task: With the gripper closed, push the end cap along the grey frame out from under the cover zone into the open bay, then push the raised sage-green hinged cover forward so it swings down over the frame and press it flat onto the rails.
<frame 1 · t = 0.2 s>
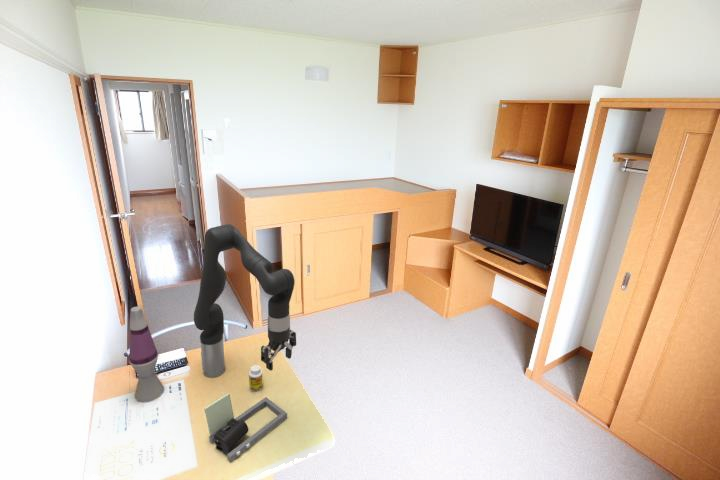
hand: (279, 363, 135), 29 cm above the table, fingers open, 8 cm apart
grey frame: (248, 430, 141), on the table
lamp: (149, 392, 156), on the table
supplement bottle: (256, 387, 162), on the table
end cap: (232, 443, 136), on the table
lid: (219, 414, 137), point 8 cm above the table, hinge at 100.0°
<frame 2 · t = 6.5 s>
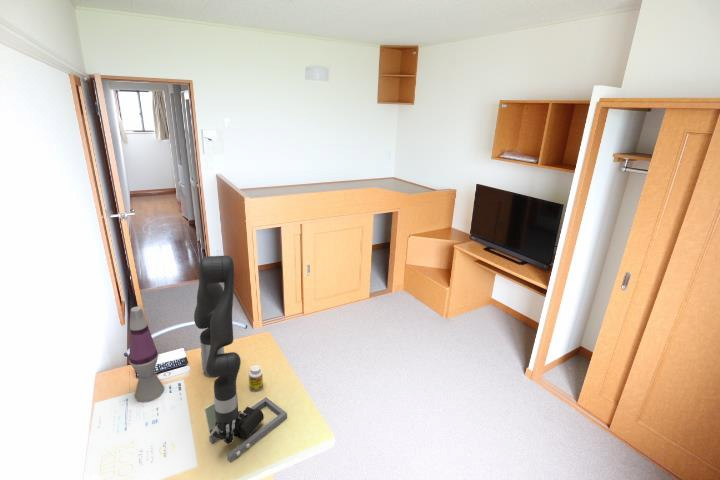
hand: (228, 442, 135), 1 cm above the table, fingers closed
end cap: (248, 430, 142), on the table, touching hand
everything else where it was.
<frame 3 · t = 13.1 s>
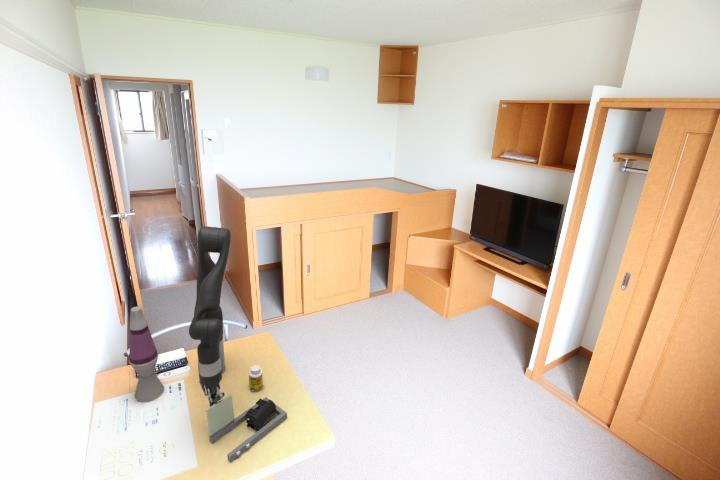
hand: (213, 407, 138), 10 cm above the table, fingers closed
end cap: (261, 421, 146), on the table
lid: (220, 415, 137), point 9 cm above the table, hinge at 94.6°
everything else where it was.
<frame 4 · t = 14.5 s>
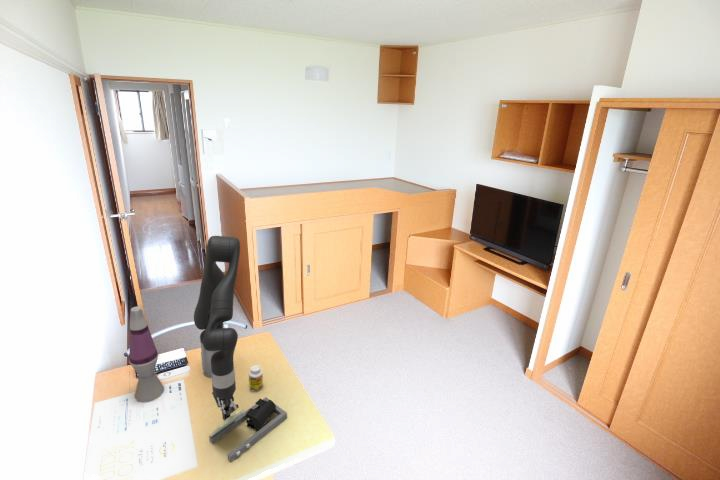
hand: (226, 418, 134), 10 cm above the table, fingers closed
lid: (226, 422, 135), point 8 cm above the table, hinge at 54.1°, touching gripper
everything else where it was.
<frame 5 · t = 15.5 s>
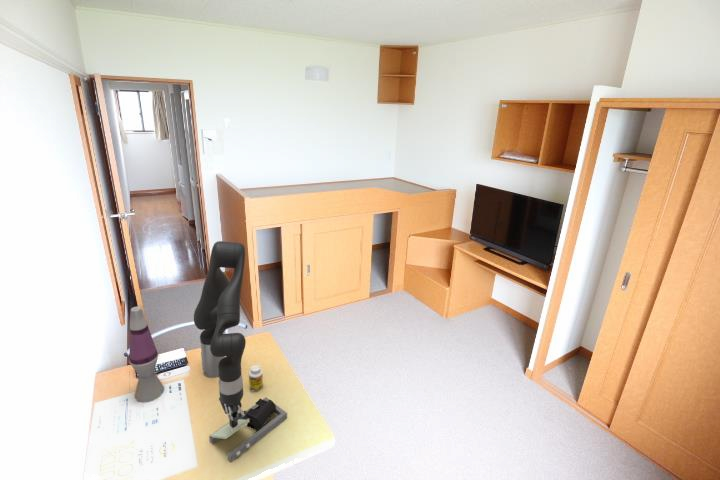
hand: (233, 425, 132), 10 cm above the table, fingers closed
lid: (229, 427, 134), point 6 cm above the table, hinge at 33.6°, touching gripper
everything else where it was.
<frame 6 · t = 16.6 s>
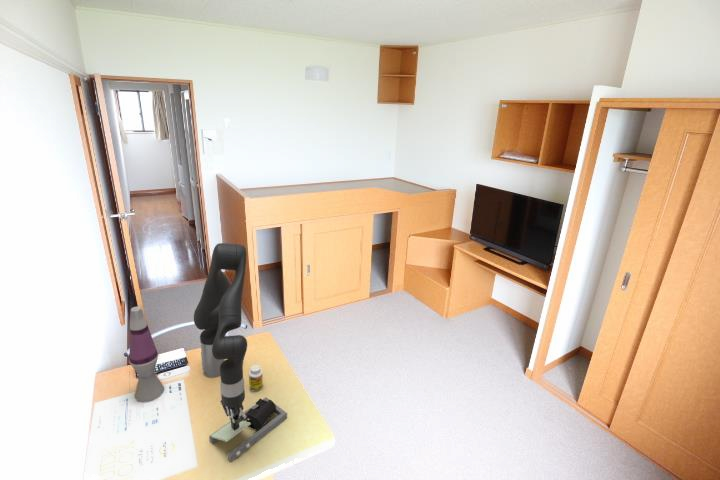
hand: (235, 427, 131), 9 cm above the table, fingers closed
lid: (229, 429, 134), point 6 cm above the table, hinge at 28.5°, touching gripper
everything else where it was.
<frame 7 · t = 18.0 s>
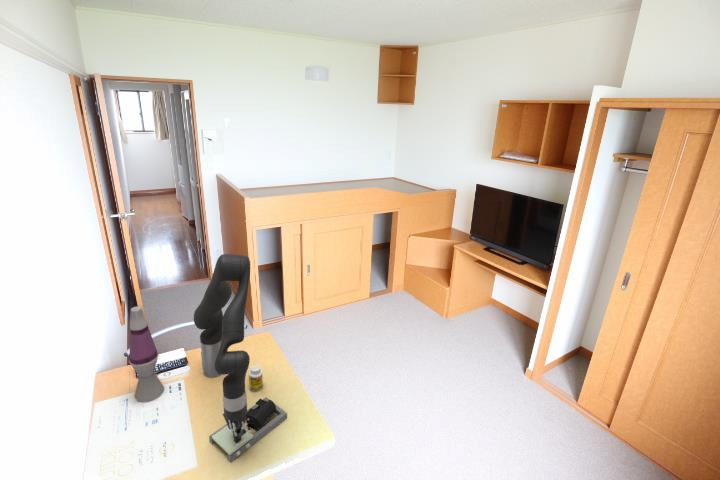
hand: (237, 440, 133), 4 cm above the table, fingers closed
lid: (231, 435, 135), point 3 cm above the table, hinge at 1.5°, touching gripper
everything else where it was.
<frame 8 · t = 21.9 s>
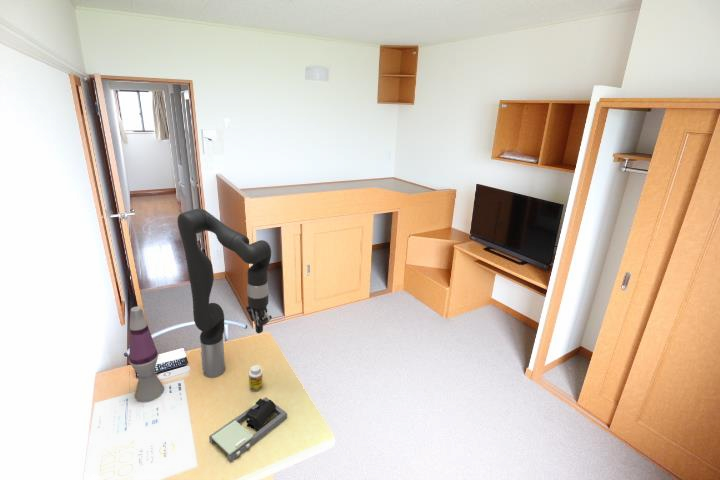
hand: (259, 332, 146), 32 cm above the table, fingers closed
lid: (231, 435, 135), point 3 cm above the table, hinge at 1.5°
everything else where it was.
at the end: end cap inside the target area (1.1 cm from its centre), on the table; lid at +2° (first picture: +100°) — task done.
